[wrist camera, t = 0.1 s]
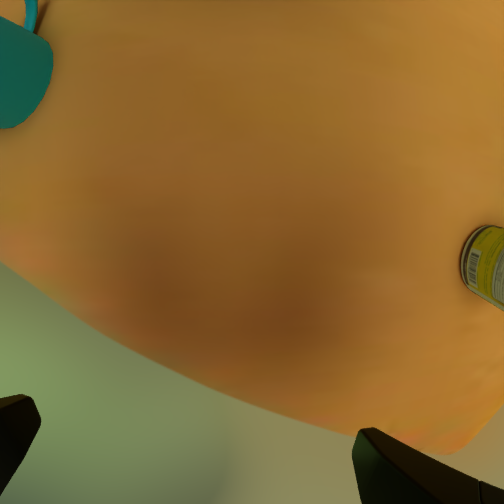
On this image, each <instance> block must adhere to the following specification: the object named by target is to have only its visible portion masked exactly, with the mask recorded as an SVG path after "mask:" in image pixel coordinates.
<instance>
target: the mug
mask: <svg viewBox="0 0 504 504" xmlns="http://www.w3.org/2000/svg"><path fill="white" fill-rule="evenodd" d="M25 4H26V18H25V24H24V28H23V27H21V26H19V25H17V24H15V23H13V22H11V21H9V20H7V19H5V18H3V17H1V16H0V128H3V129H4V128H12V127H15V126H16V125H18V124H20V123H22V122H23V121H25V120H26V119H27V118H28V116H30V115H31V114H32V113H33V112H34V110H35V109H36V107H37V106H38V104H39V103H40V101H41V100H42V98H43V96H44V94H45V92H46V89H47V87H48V85H49V83H50V79H51V74H52V69H53V53H52V50H51V48H50V45H49V43H48V42H46V41H45V40H44V39H43V38H42V37H40V36H38V35H36V34H34V33H33V31H34V28H35V24H36V18H37V13H38V0H25Z"/></svg>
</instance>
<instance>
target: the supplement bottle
mask: <svg viewBox="0 0 504 504" xmlns="http://www.w3.org/2000/svg"><path fill="white" fill-rule="evenodd" d="M461 273H462V277H463V280H464V282H465V284H466V286H467V287H468V288H469V289H470V290H471V291H472V292H474V293H475V294H477V295H479V296H480V297H482V298H483V299H485V300H486V301H488V302H490V303H491V304H493V305H494V306H496V307H498V308H499V309H501V310H502V311H504V228H502V227H498V226H493V225H487V226H483V227H481V228H479V229H478V230H476V231H475V232H474V233H473V234H472V235H471V237H470V238H469V240H468V241H467V243H466V245H465V247H464V250H463V254H462V259H461Z"/></svg>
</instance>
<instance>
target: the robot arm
mask: <svg viewBox="0 0 504 504" xmlns="http://www.w3.org/2000/svg"><path fill="white" fill-rule="evenodd" d="M40 425H41V417H40V415H39V412H38V410H37V408H36V405H35V403H34V400H33V399H32V398H31V397H29V396H26V395H23V394H18V395H13V396H9V397H4V398H0V496H1V494H2V492H3V491H4V489H5V487H6V486H7V484H8V483H9V481H10V479H11V478H12V476H13V474H14V473H15V472H16V470H17V468H18V467H19V465H20V464H21V462H22V461H23V459H24V457H25V455H26V453H27V451H28V449H29V447H30V445H31V443H32V441H33V439H34V438H35V436H36V434H37V432H38V430H39V428H40ZM352 460H353V465H354V470H355V474H356V480H357V484H358V490H359V494H360V499H361V502H362V504H504V490H503V489H500V488H498V487H495V486H493V485H490V484H488V483H486V482H483V481H478V479H475V478H473V477H471V476H469V475H466V474H464V473H462V472H460V471H458V470H456V469H454V468H451V467H449V466H447V465H445V464H443V463H441V462H439V461H437V460H435V459H433V458H431V457H429V456H427V455H425V454H423V453H421V452H419V451H417V450H415V449H413V448H412V447H410V446H408V445H406V444H404V443H402V442H400V441H398V440H397V439H395V438H393V437H391V436H389V435H387V434H386V433H384V432H382V431H380V430H378V429H377V428H374V427H371V428H363V429H360V430H359V431H358V434H357V437H356V440H355V443H354V446H353V449H352Z"/></svg>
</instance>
